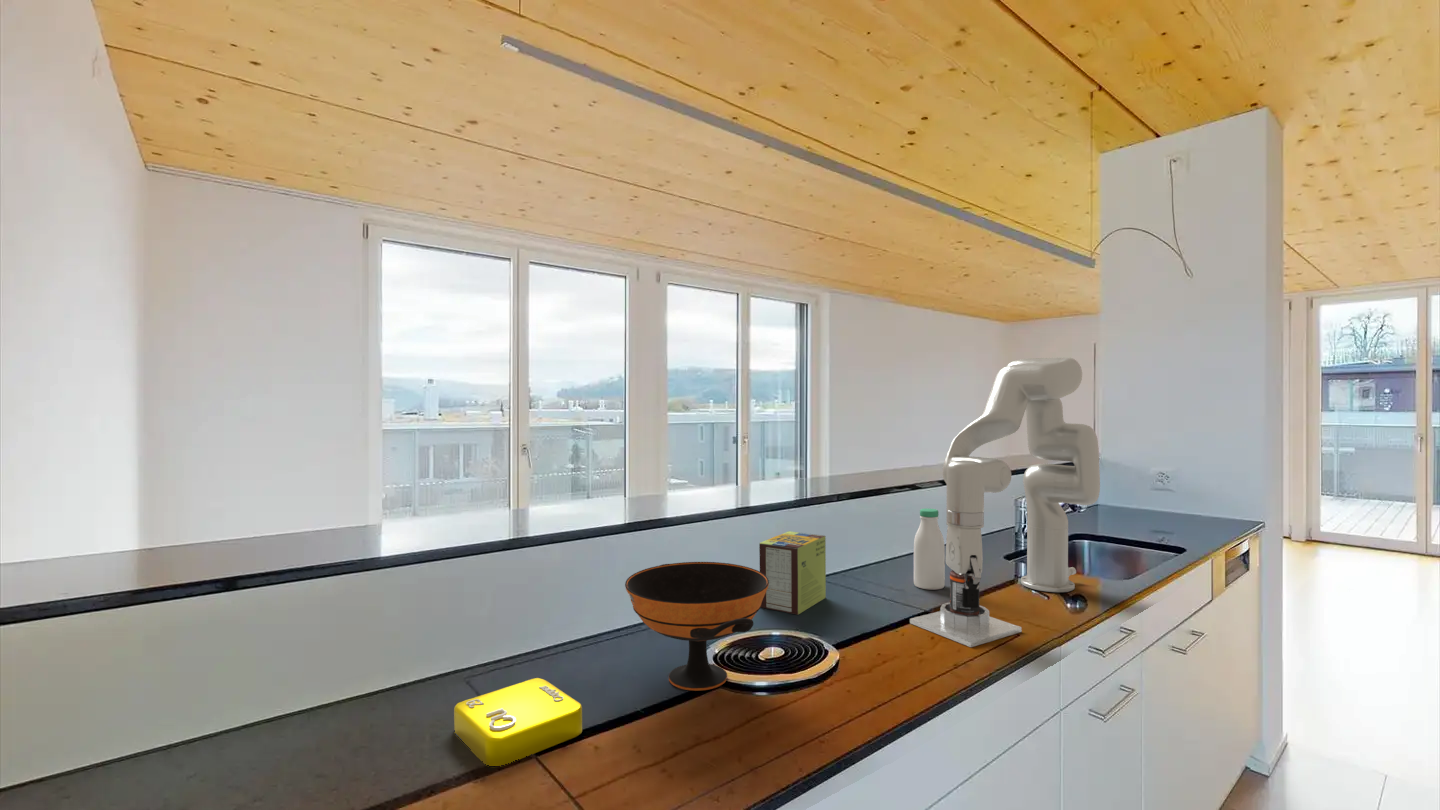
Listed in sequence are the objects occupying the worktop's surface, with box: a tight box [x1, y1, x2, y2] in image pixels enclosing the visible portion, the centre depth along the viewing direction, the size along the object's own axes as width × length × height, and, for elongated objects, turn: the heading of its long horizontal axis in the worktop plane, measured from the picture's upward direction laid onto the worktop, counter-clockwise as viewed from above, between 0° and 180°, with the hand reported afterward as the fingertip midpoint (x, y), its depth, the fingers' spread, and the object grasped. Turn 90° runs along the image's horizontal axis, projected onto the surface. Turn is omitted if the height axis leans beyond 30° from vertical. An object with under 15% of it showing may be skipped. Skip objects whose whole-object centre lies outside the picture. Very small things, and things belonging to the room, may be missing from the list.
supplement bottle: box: [949, 569, 979, 615], centre depth 143 cm, size 6×6×11 cm
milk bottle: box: [913, 508, 946, 591], centre depth 173 cm, size 8×8×20 cm
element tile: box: [453, 677, 583, 767], centre depth 101 cm, size 15×15×5 cm
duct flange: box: [909, 601, 1022, 648], centre depth 143 cm, size 16×16×4 cm
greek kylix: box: [624, 561, 769, 692], centre depth 118 cm, size 36×26×18 cm
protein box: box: [758, 530, 827, 616], centre depth 160 cm, size 10×15×16 cm
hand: (964, 601), depth 143 cm, fingers closed on supplement bottle, 6 cm apart
